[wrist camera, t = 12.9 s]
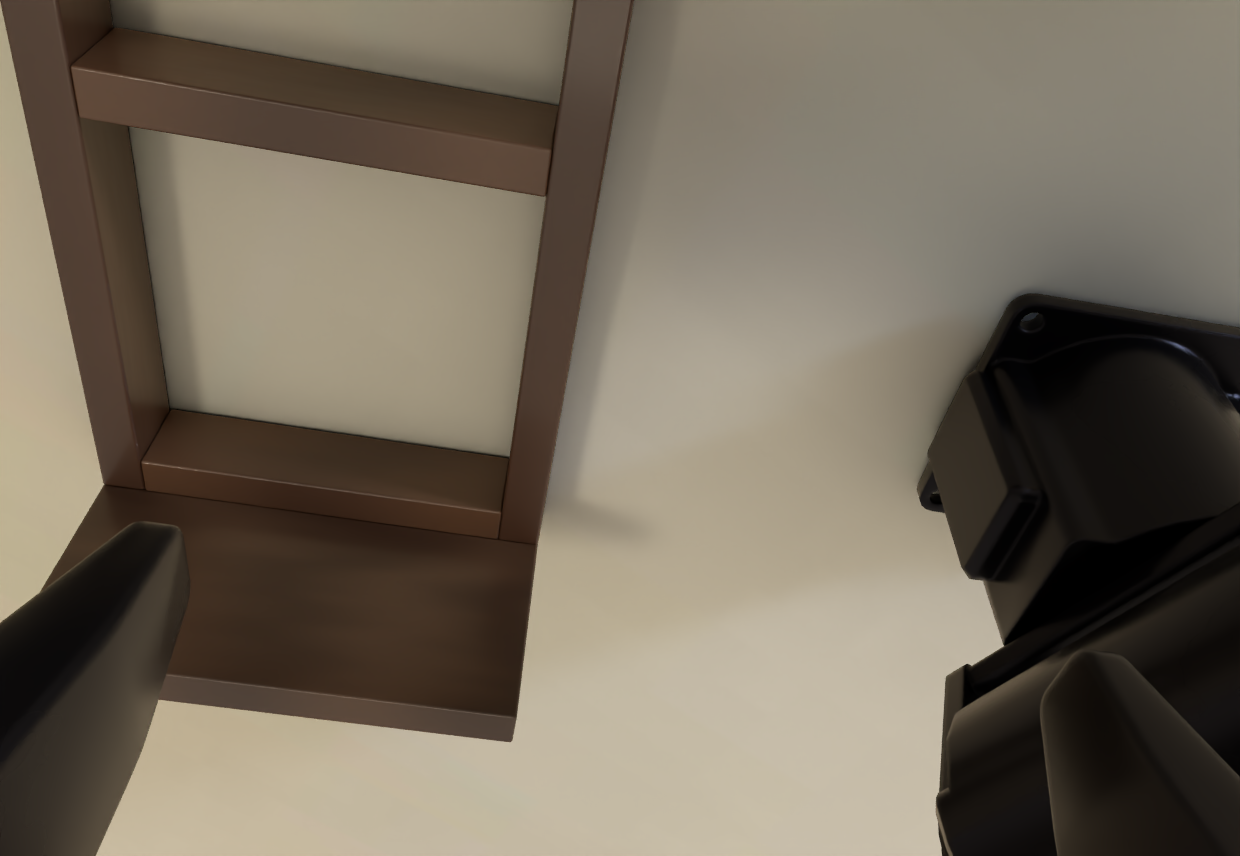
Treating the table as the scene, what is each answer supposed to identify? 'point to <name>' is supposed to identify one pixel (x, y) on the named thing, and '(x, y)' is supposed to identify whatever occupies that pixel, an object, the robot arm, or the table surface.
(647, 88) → the table surface
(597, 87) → the cup stand
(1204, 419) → the robot arm
